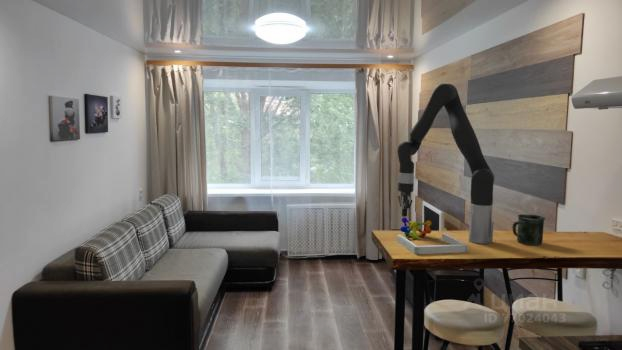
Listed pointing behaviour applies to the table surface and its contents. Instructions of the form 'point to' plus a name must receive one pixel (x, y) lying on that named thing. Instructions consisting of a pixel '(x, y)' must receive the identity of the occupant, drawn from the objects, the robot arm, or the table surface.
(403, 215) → the robot arm
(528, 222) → the mug
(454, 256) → the table surface
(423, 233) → the decorative model
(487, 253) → the table surface
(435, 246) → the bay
